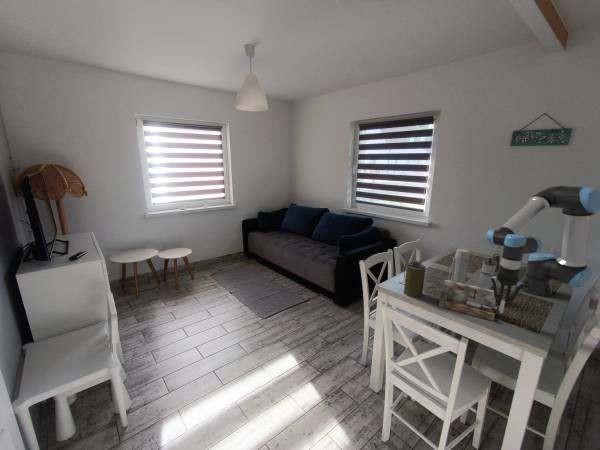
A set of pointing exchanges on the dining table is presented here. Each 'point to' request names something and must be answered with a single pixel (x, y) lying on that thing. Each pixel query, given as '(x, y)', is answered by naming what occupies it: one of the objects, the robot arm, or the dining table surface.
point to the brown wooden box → (457, 297)
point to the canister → (414, 279)
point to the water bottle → (460, 266)
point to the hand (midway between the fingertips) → (500, 311)
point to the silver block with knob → (479, 304)
